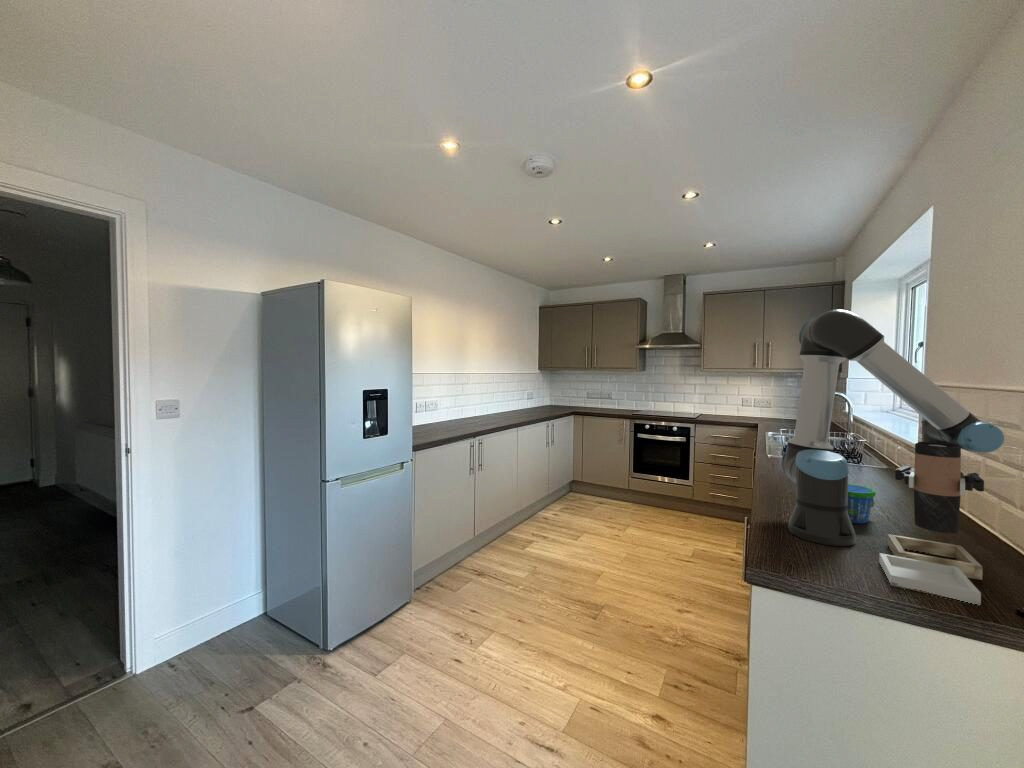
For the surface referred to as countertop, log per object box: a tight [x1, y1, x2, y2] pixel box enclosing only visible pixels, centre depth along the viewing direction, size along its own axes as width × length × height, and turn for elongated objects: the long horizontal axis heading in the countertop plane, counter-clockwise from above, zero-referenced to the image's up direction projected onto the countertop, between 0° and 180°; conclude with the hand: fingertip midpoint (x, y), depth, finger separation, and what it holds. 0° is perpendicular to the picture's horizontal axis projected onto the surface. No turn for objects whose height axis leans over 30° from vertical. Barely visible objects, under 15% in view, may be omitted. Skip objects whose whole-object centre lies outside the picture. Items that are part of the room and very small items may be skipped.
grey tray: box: [878, 552, 982, 606], centre depth 88 cm, size 13×13×2 cm
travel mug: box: [913, 441, 962, 534], centre depth 95 cm, size 8×8×20 cm
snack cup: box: [847, 483, 877, 524], centre depth 126 cm, size 16×10×10 cm
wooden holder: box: [887, 533, 984, 581], centre depth 98 cm, size 13×13×3 cm
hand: (936, 485), depth 92 cm, fingers closed on travel mug, 7 cm apart
